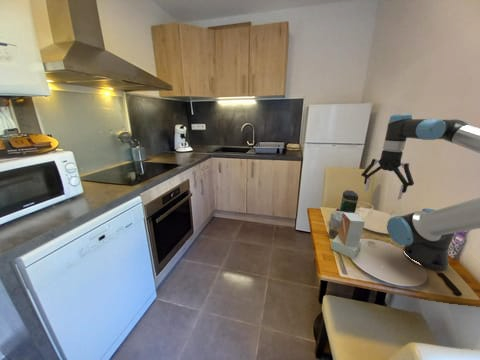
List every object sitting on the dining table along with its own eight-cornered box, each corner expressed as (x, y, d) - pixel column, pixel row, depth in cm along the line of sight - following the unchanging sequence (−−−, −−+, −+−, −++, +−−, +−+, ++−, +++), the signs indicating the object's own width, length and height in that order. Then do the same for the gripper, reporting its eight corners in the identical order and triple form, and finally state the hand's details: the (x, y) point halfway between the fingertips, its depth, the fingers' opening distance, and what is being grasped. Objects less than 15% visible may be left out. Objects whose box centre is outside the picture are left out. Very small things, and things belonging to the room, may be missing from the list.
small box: (337, 235, 98) (342, 212, 94) (350, 236, 98) (356, 212, 94) (344, 245, 91) (350, 220, 87) (359, 246, 90) (365, 221, 86)
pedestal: (359, 250, 96) (361, 241, 94) (353, 259, 89) (355, 250, 88) (338, 241, 103) (339, 232, 101) (330, 249, 96) (332, 240, 94)
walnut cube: (340, 236, 106) (342, 228, 104) (337, 240, 102) (339, 232, 101) (331, 233, 109) (332, 225, 107) (328, 236, 105) (329, 228, 104)
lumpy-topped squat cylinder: (346, 223, 119) (349, 210, 117) (352, 235, 107) (355, 221, 105) (328, 220, 122) (330, 208, 119) (331, 232, 110) (334, 218, 107)
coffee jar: (354, 224, 118) (360, 195, 112) (339, 222, 120) (345, 193, 114) (351, 217, 127) (357, 190, 121) (337, 215, 129) (342, 188, 123)
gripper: (431, 153, 82) (417, 200, 88) (365, 146, 101) (357, 186, 107) (427, 155, 78) (413, 204, 84) (359, 147, 96) (351, 189, 102)
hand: (382, 194), depth 95 cm, fingers open, 13 cm apart
